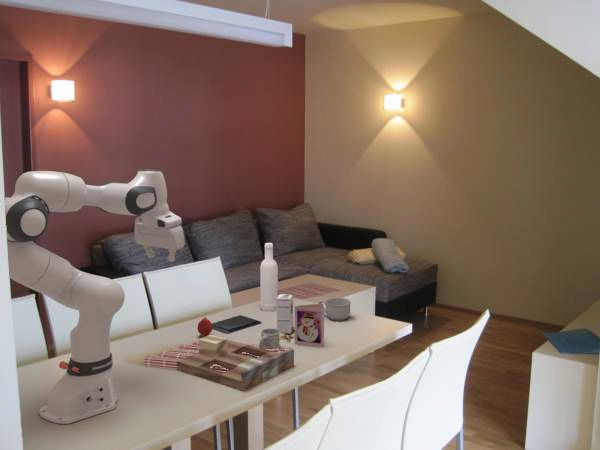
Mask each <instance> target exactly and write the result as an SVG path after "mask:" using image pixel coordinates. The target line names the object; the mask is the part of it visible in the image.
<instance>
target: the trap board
mask: <svg viewBox="0 0 600 450" xmlns="http://www.w3.org/2000/svg"><path fill="white" fill-rule="evenodd" d="M227 348H228V353H226V354H223V355H221V356H219V357H216V358H215V357H211V356H208V355H204V354H201V353H199V351H198V352H196V353H193V354H191V355H189V356H186V357H184V358H180V359H179V360H177V361H176V370H177V371H180V372H184V373H187V374H190V375H193V376H195V377H199V378H201V379H205V380H208V381H212V382H215V383H217V384H219V385H220V384H221V385H224V386H227V387H230V388H233V389H236V390H239V391H242V392H246V391H248V390H250V389H252V388H254V387H256V386H257V385H259V384H261V383H263V382H265V381H267V380H269V379H271V378H273V377H275V376H277V375H279V374H280V373H281V374H282V372H285V371H287V370H288V369H291V368H292V367H294V366H295V349H294V348H289V349H287V350H285V351H283V352H280V353H278V352H276V351H273V352H272V351H268V350H264V349H260V347H256V346H252V345H249V344H245V343H242V342H237V341H234V340H230V339H227ZM242 352H246V353H249V354H252V355H255V356H259V357H258V358H254V357H250V356H247V355H239V354H241V353H242ZM213 364H217V365H220V366H222V367H224V368H226V369H228V370H229V371H225V372H223V371H220V370H218V369H215V368H212V369H211V368H210V366H212V365H213Z"/></svg>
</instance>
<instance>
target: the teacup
mask: <svg viewBox="0 0 600 450" xmlns="http://www.w3.org/2000/svg"><path fill="white" fill-rule="evenodd" d="M322 303H323V304H324V305H325V307H324V306H323V309H324V314H326V316H327V317H328V318H329V319H330V320H332V321H337V322H339V321H340V322H341V321H344V320H346V319H347V318H349V316H350V314H351V303H352V301H351V300H350V299H349V298H346V297H340V296H337V297H335V296H334V297H329V298H327V299H321V300H319V301H318V304H322Z"/></svg>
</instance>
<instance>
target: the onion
mask: <svg viewBox="0 0 600 450" xmlns="http://www.w3.org/2000/svg"><path fill="white" fill-rule="evenodd" d="M212 323H213V322H211V321H210V319H208V318H207V316H204V317H203V318H202V319H201V320H200V321H199V322H198V324H197V331H198V334H200V335H201V336H203V337H206V336H208V335H211V333H212V331H213V329H212V328H213V327H212Z"/></svg>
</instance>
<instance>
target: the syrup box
mask: <svg viewBox="0 0 600 450" xmlns="http://www.w3.org/2000/svg"><path fill="white" fill-rule="evenodd" d="M293 297H294V296H293V294H290V293H289V294H288V293H287V294H286V293H282V294H279V293H278V297H277V298H276V300H277V310H276V329H277V330H279V334H291V333H292V331H293V330H294V298H293Z"/></svg>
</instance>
